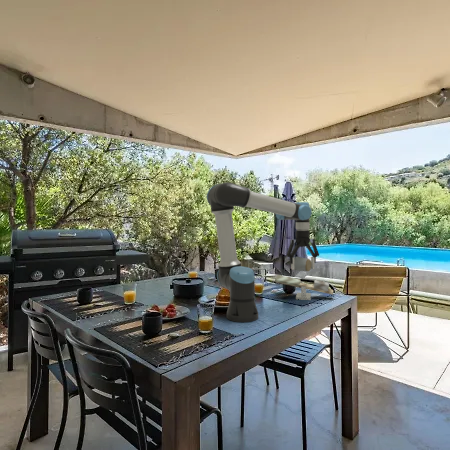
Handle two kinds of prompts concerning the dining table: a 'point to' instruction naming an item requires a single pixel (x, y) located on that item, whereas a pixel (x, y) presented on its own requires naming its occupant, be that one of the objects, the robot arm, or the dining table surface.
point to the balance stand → (303, 294)
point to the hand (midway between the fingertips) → (302, 269)
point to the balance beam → (317, 286)
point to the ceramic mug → (302, 264)
